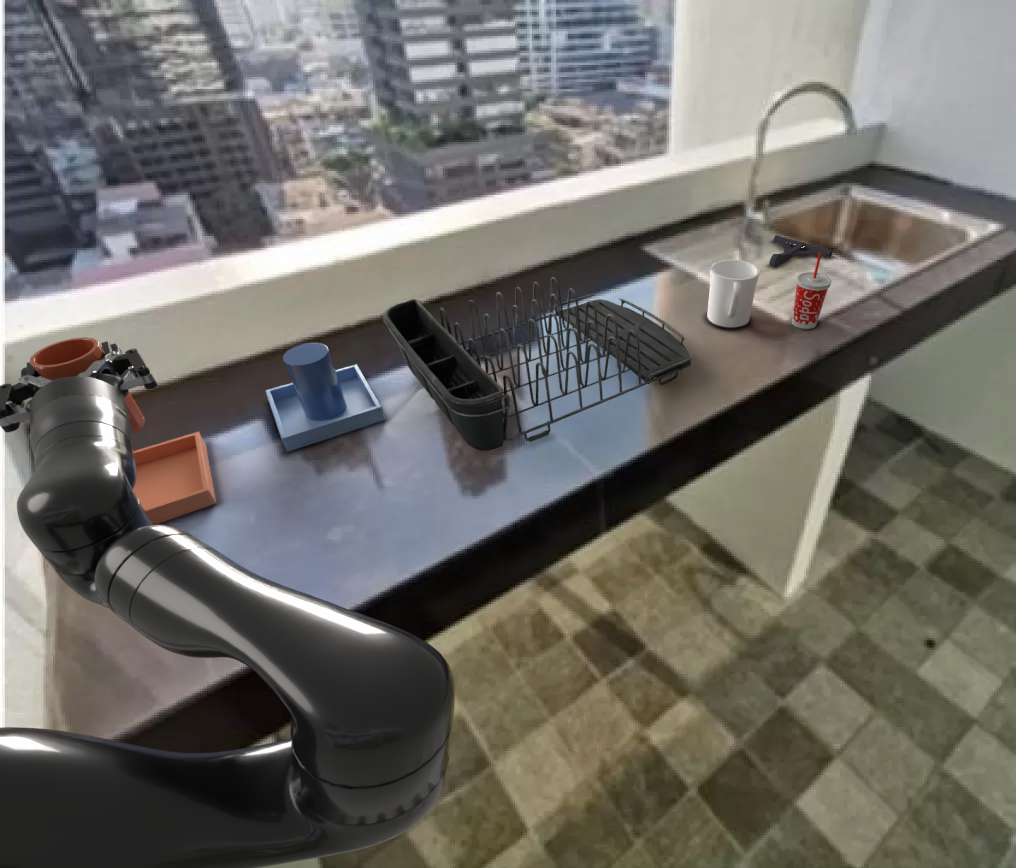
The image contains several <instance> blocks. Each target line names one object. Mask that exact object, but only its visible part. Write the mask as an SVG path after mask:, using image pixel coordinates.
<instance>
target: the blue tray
mask: <svg viewBox="0 0 1016 868" xmlns="http://www.w3.org/2000/svg"><path fill="white" fill-rule="evenodd" d="M335 370H336V373H337V376H338V379H339V382H340V385H341V388H342V391H343V394H344V397H345V400H346V403H347V406H346V409H345V410H344V411H343V412H342V413H341V414H340V415H338V416H336V417H334V418H332V419H328V420H323V421H314V420H311V419H308V418H307V417H306V416H305V414H304V411H303V408H302V406H301V403H300V401H299V398H298V396H297V393H296V391H295V388H294V386H293V383H292V382H290V383H287V384H283V385H279V386H275V387H273V388H269V389H266V390H265V394H266V397H267V400H268V403H269V406H270V409H271V413H272V415H273V417H274V421H275V424H276V427H277V429H278V430H277V431H278V433H279V435H280V439H281V441H282V443H283V446H284V448H285V449H286V450H285V451H286V452H287V453H288V452H292V451H295V450H298V449H301V448H305V447H307V446H310V445H313V444H316V443H319V442H322V441H326V440H329V439H331V438H334V437H337V436H341V435H344V434H346V433H351V432H353V431H356V430H358V429H359V430H360V429H362V428H365V427H369V426H371V425H374V424H376V423H380V422H383V421H385V420H386V417H385V414H384V411H383V408H382V406H381V404H380V402H379V400H378V398H377V397H376V395H375V394H374V392H373V389H372V388H371V386H370V385H369V382H368V381H367V379H366V377H365V375H364V374H363V373H362V370H361V369H360V367H359V365H358V364H357V363H356V364H352V365H349V366H345V367H343V368H338V369H335Z"/></svg>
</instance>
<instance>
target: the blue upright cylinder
mask: <svg viewBox="0 0 1016 868" xmlns="http://www.w3.org/2000/svg"><path fill="white" fill-rule="evenodd" d="M282 360H283V363H284V365H285V368H286V371H287V373H288V376H289V378H290V381H291V383H293V386H294V388H295V391H296V393H297V396H298V398H299V401H300V403H301V406H302V408H303V411H304V414H305V416H306V417H307V418H308V419H311V420H314V421H323V420H328V419H332V418H334V417H336V416H338V415H340V414H341V413H342V412H343V411H344V410H345V409H346V406H347V403H346V400H345V397H344V394H343V391H342V388H341V385H340V382H339V379H338V376H337V373H336V370H337V369H336V368H335V365H334V362H333V359H332V356H331V352H330V351H329V348H328V346H327V345H325V344H323V343H319V342H309V343H308V342H307V343H302V344H298V345H296V346H294V347H292V348H290V349H288V350H287V351H286V352H284V355H283V357H282Z"/></svg>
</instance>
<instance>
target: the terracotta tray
mask: <svg viewBox="0 0 1016 868" xmlns="http://www.w3.org/2000/svg"><path fill="white" fill-rule="evenodd" d="M133 453H134V457H135V462H136V469H137V477H136V484H135V486H134V488H133V491H134V493H135V495H136V496H137V498H138V500H139V501H140V503H141V505H142V506H143V508H144V510H145V512H146V513H147V515H148V517H149V519H150V520H151V521H152V523H153V525H160V524H161V523H164V522H167V521H170V520H173V519H176V518H179V517H181V516H185V515H188V514H191V513H193V512H196V511H199V510H203V509H205V508H208V507H210V506H213V505H216V504H217V499H216V494H215V488H214V482H213V478H212V471H211V465H210V460H209V454H208V449H207V444H206V442H205V441H204V438H203V437H202V435H201V433H200V431H195V432H193V433H189V434H186V435H183V436H180V437H176V438H172V439H169V440H166V441H162V442H159V443H157V444H152V445H150V446H149V445H148V446H145V447H143V448H139V449H137V450H133Z"/></svg>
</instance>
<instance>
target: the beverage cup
mask: <svg viewBox="0 0 1016 868" xmlns="http://www.w3.org/2000/svg"><path fill="white" fill-rule="evenodd" d="M821 254H822V252H819V255H817V260H816V263H815V268H814V271H813V272H812V271H805V272H801V273H799V274H797V276H796V280H795V282H796V287H795V288H796V289H795V296H794V302H793V309H792V310H793V311H792V316H791V324H792V325H793V327H796V328H799V329H804V330H810V329H814V328H816V327H817V323H818V321H819V317H820V315H821V312H822V309H823V305H824V302H825V300H826V296H827V293H828V290H829V289H830V287H831V284H832V282H833V281H832V278H831V277H830V276H828V275H826V274H824V273H822V272H818V271H819V266H820V262H821V258H822V256H821Z"/></svg>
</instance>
